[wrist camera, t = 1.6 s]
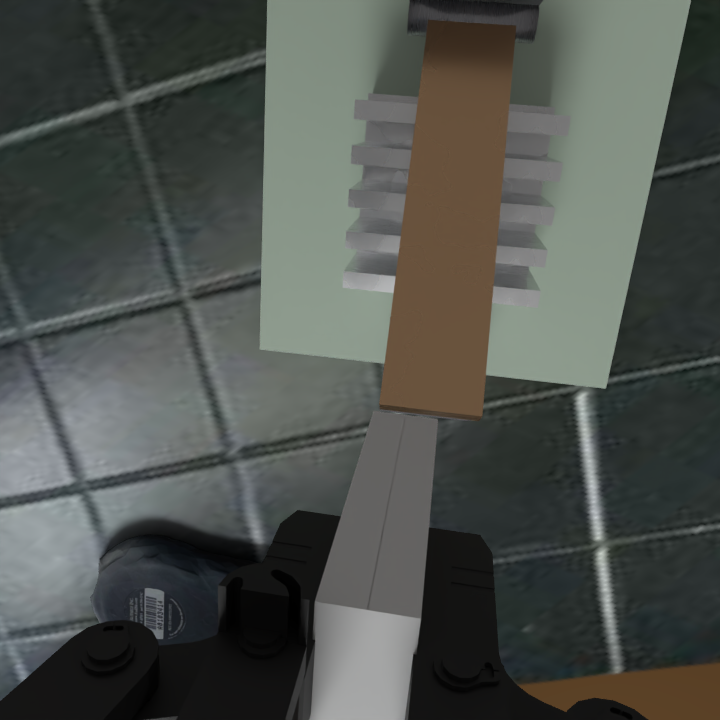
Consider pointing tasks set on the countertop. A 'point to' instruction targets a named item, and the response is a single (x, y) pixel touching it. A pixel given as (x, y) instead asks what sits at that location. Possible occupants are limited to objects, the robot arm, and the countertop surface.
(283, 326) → the board
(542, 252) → the heatsink
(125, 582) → the electronic device
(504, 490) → the countertop surface
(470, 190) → the strap
